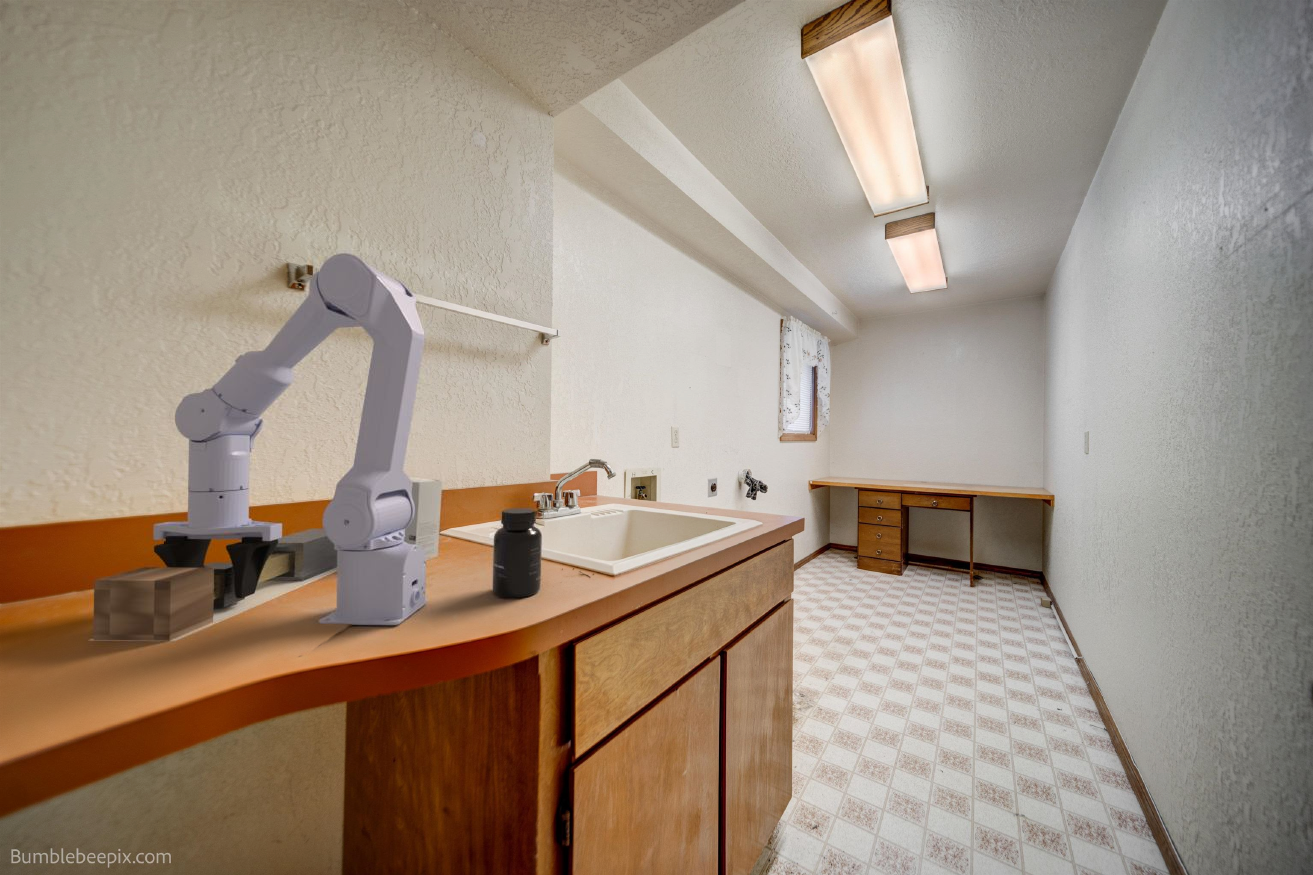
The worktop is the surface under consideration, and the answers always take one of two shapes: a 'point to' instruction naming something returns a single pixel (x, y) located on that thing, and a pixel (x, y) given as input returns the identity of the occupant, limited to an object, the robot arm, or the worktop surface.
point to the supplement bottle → (517, 555)
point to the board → (252, 600)
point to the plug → (273, 567)
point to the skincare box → (425, 515)
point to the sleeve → (307, 554)
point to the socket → (153, 603)
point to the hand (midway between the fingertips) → (217, 595)
